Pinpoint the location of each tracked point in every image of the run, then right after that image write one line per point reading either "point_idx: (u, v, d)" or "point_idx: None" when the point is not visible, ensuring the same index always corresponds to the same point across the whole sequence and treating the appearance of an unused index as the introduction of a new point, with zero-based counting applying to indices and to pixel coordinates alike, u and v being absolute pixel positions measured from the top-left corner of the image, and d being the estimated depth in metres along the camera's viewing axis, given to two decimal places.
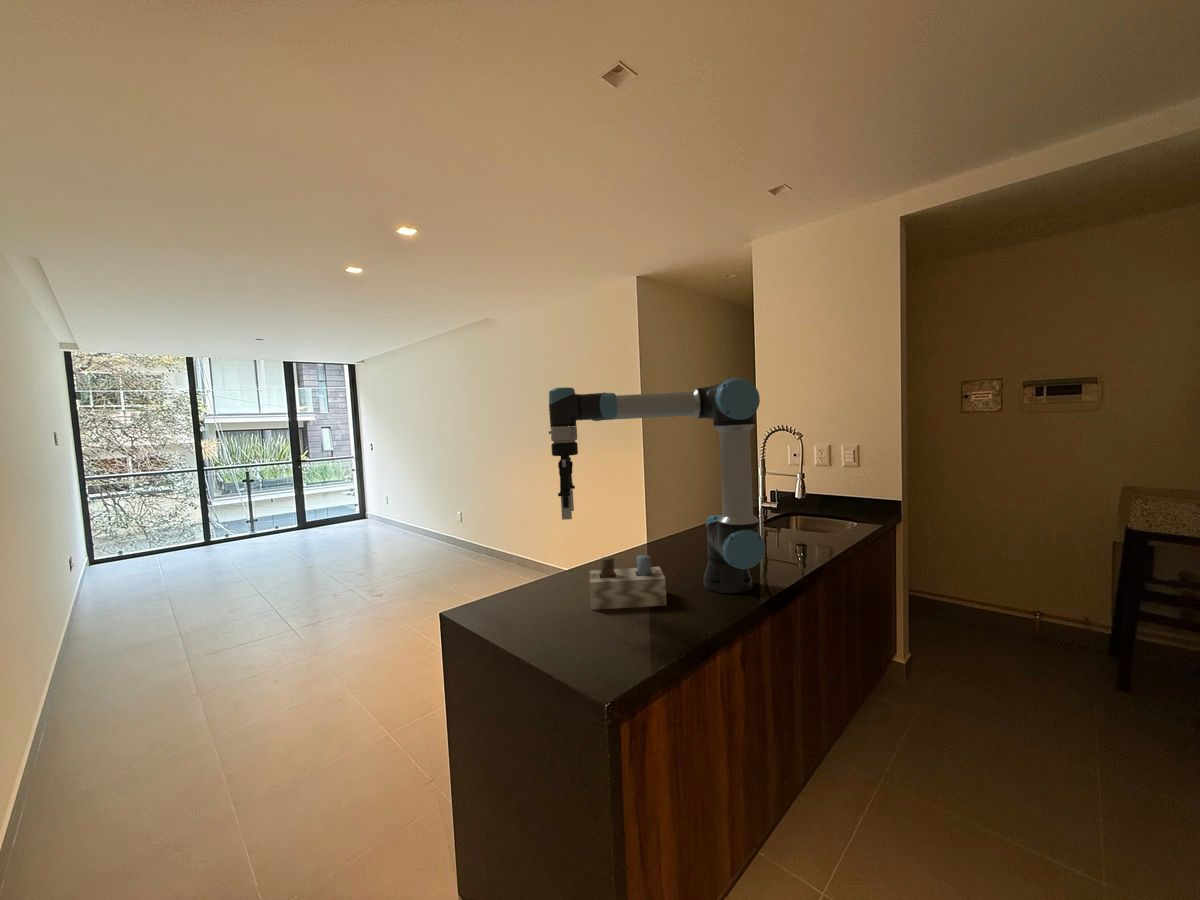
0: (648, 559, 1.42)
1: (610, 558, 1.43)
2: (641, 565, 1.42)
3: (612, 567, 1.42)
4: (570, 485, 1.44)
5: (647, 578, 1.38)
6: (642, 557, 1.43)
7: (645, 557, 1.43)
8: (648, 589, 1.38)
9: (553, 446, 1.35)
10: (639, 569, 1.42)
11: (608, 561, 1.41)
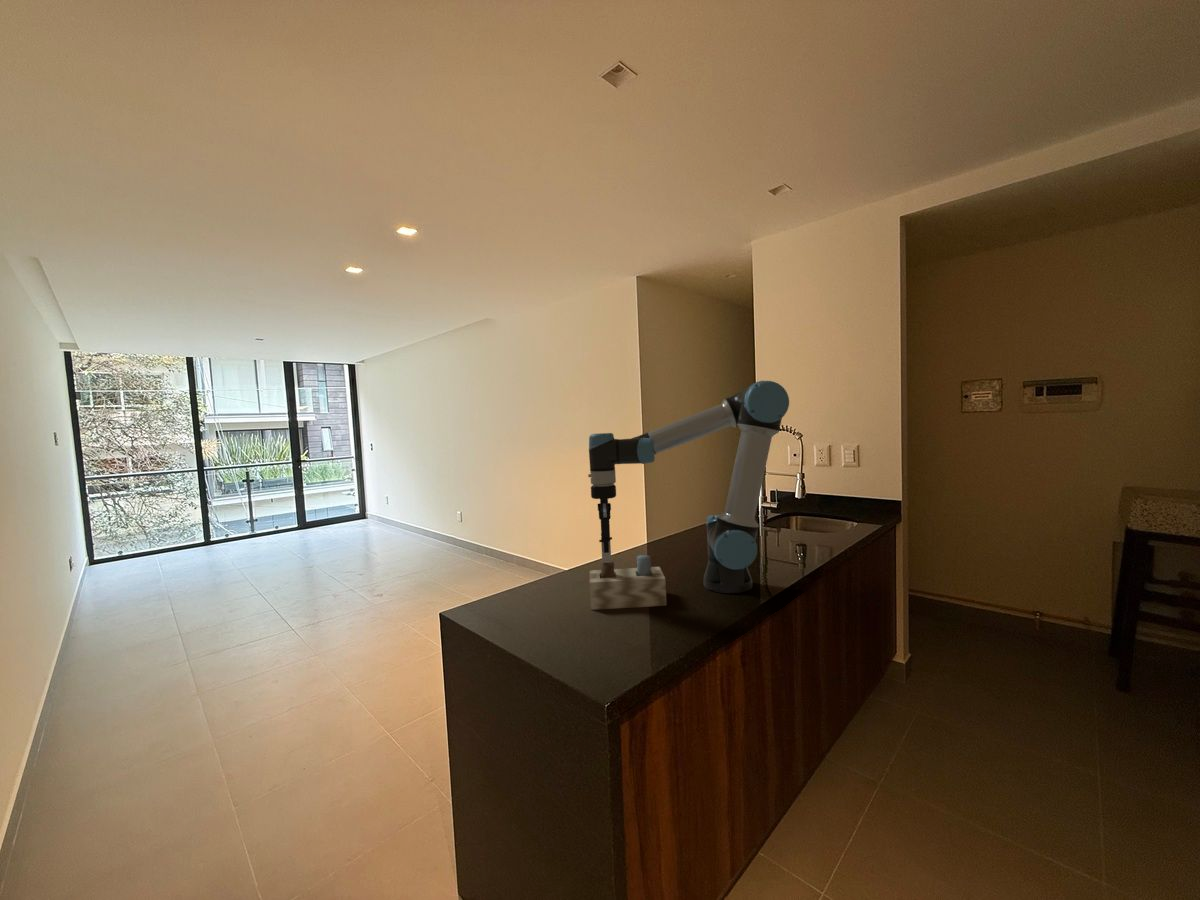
0: (648, 559, 1.42)
1: (610, 563, 1.43)
2: (641, 565, 1.42)
3: (612, 572, 1.42)
4: None
5: (647, 578, 1.38)
6: (642, 557, 1.43)
7: (645, 557, 1.43)
8: (648, 589, 1.38)
9: (593, 489, 1.40)
10: (639, 569, 1.42)
11: (608, 566, 1.42)
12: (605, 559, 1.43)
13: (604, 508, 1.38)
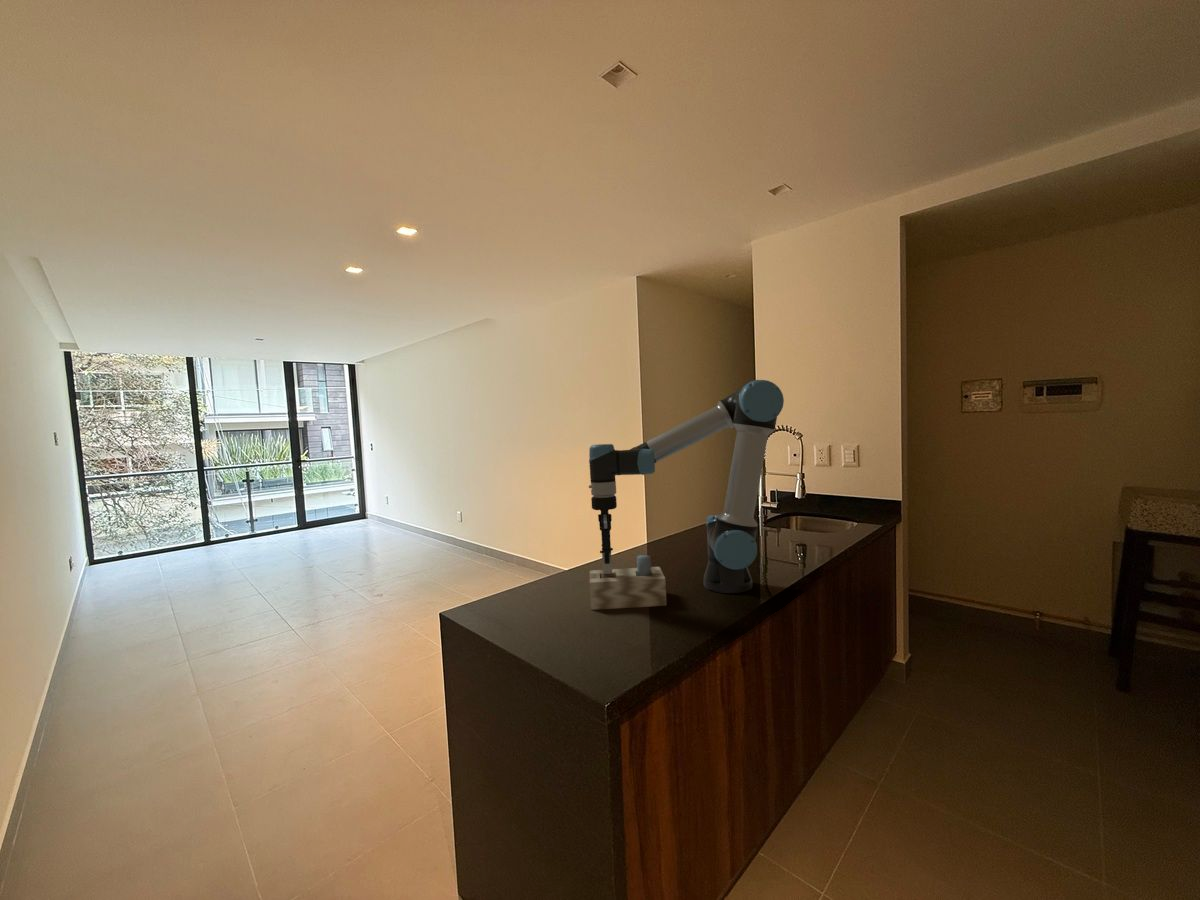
0: (648, 559, 1.42)
1: (611, 574, 1.43)
2: (641, 565, 1.42)
3: None
4: None
5: (647, 578, 1.38)
6: (642, 557, 1.43)
7: (645, 557, 1.43)
8: (648, 589, 1.38)
9: (593, 500, 1.40)
10: (639, 569, 1.42)
11: (609, 577, 1.42)
12: (606, 570, 1.43)
13: (605, 519, 1.38)
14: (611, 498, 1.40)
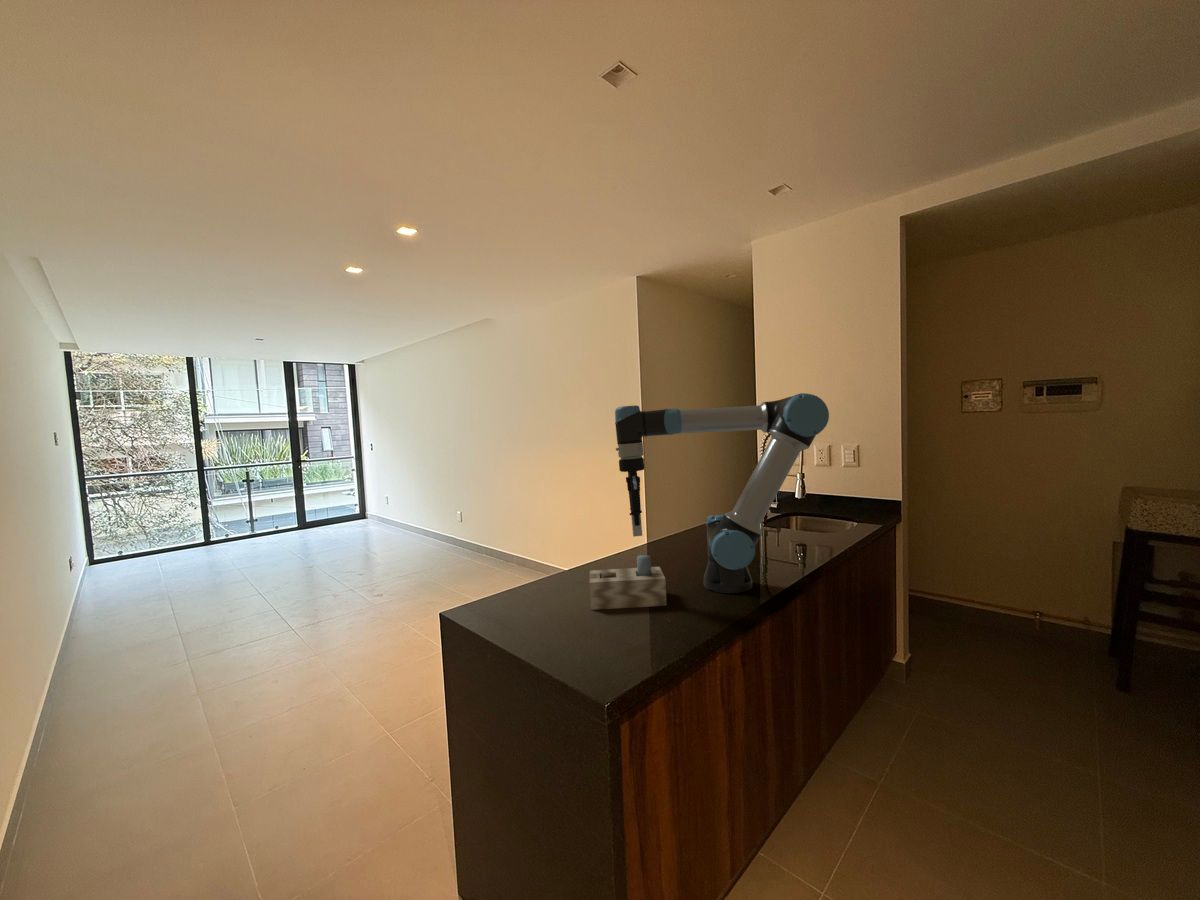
0: (648, 559, 1.42)
1: (611, 574, 1.43)
2: (641, 565, 1.42)
3: None
4: None
5: (647, 578, 1.38)
6: (642, 557, 1.43)
7: (645, 557, 1.43)
8: (648, 589, 1.38)
9: (621, 462, 1.40)
10: (639, 569, 1.42)
11: (609, 577, 1.42)
12: (636, 532, 1.42)
13: (634, 480, 1.38)
14: (639, 459, 1.39)
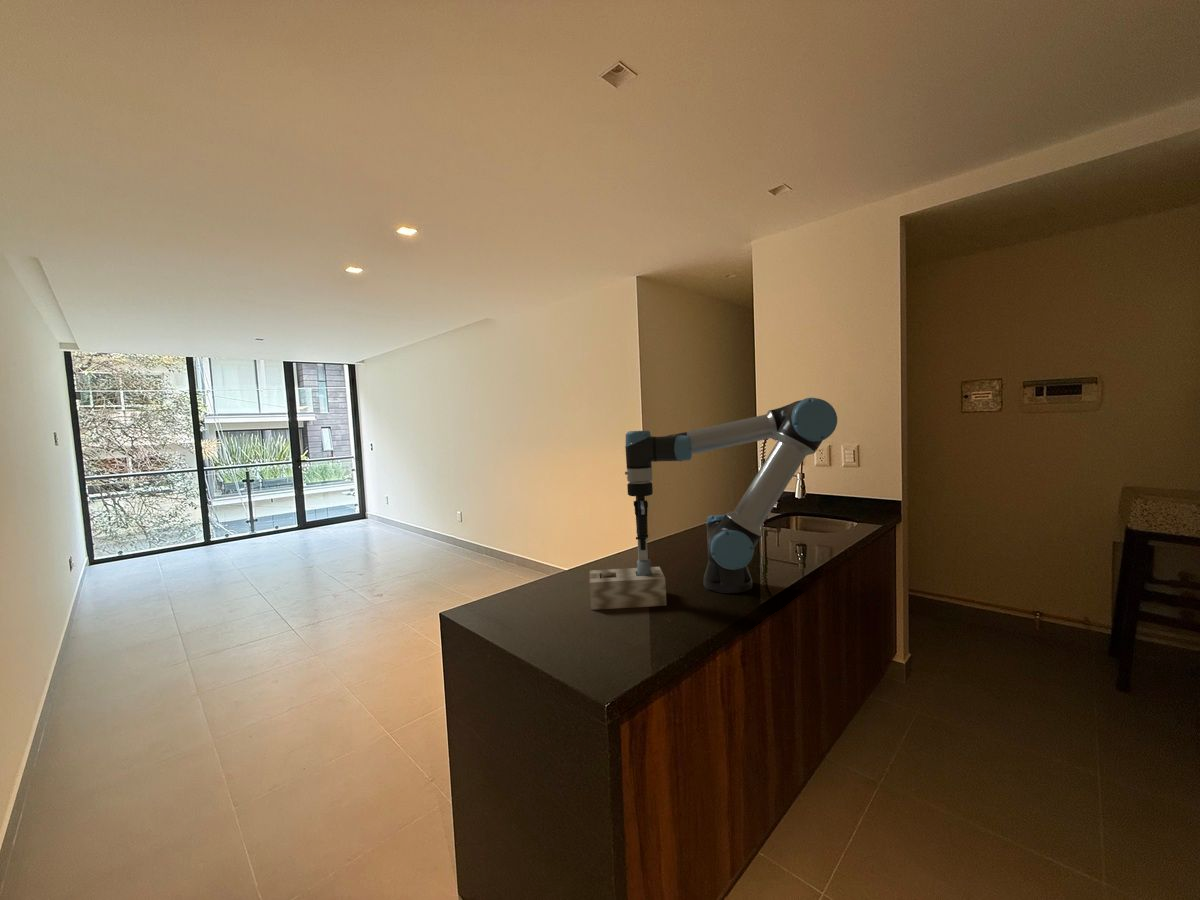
0: (648, 563, 1.42)
1: (611, 574, 1.43)
2: (641, 568, 1.42)
3: None
4: None
5: (647, 578, 1.38)
6: (642, 561, 1.43)
7: (645, 561, 1.43)
8: (648, 589, 1.38)
9: (630, 487, 1.40)
10: (639, 573, 1.42)
11: (609, 577, 1.42)
12: (642, 556, 1.43)
13: (642, 505, 1.38)
14: (648, 484, 1.40)
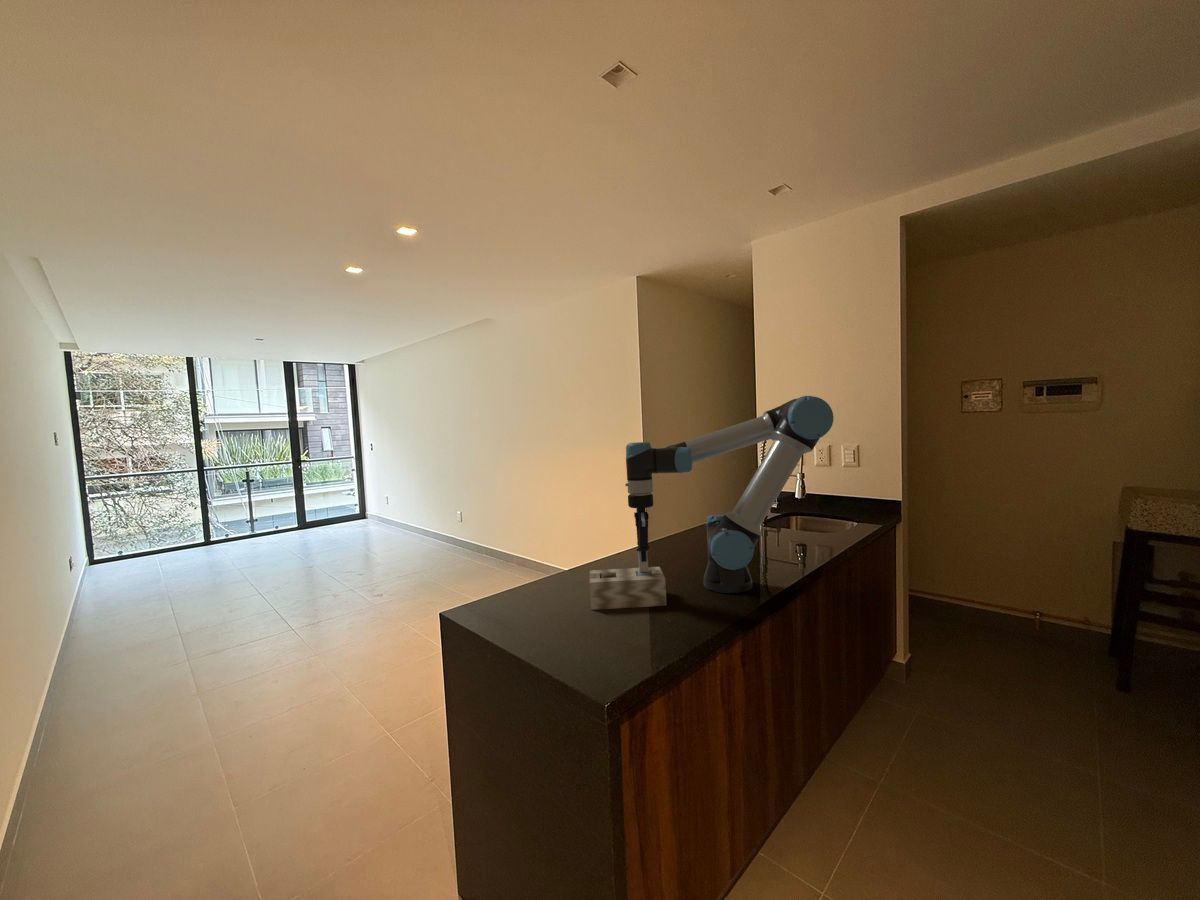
0: (649, 574, 1.42)
1: (611, 574, 1.43)
2: None
3: None
4: None
5: (647, 578, 1.38)
6: (643, 572, 1.43)
7: (646, 572, 1.43)
8: (648, 589, 1.38)
9: (631, 498, 1.41)
10: None
11: (609, 577, 1.42)
12: (642, 568, 1.43)
13: (642, 517, 1.38)
14: (648, 496, 1.40)
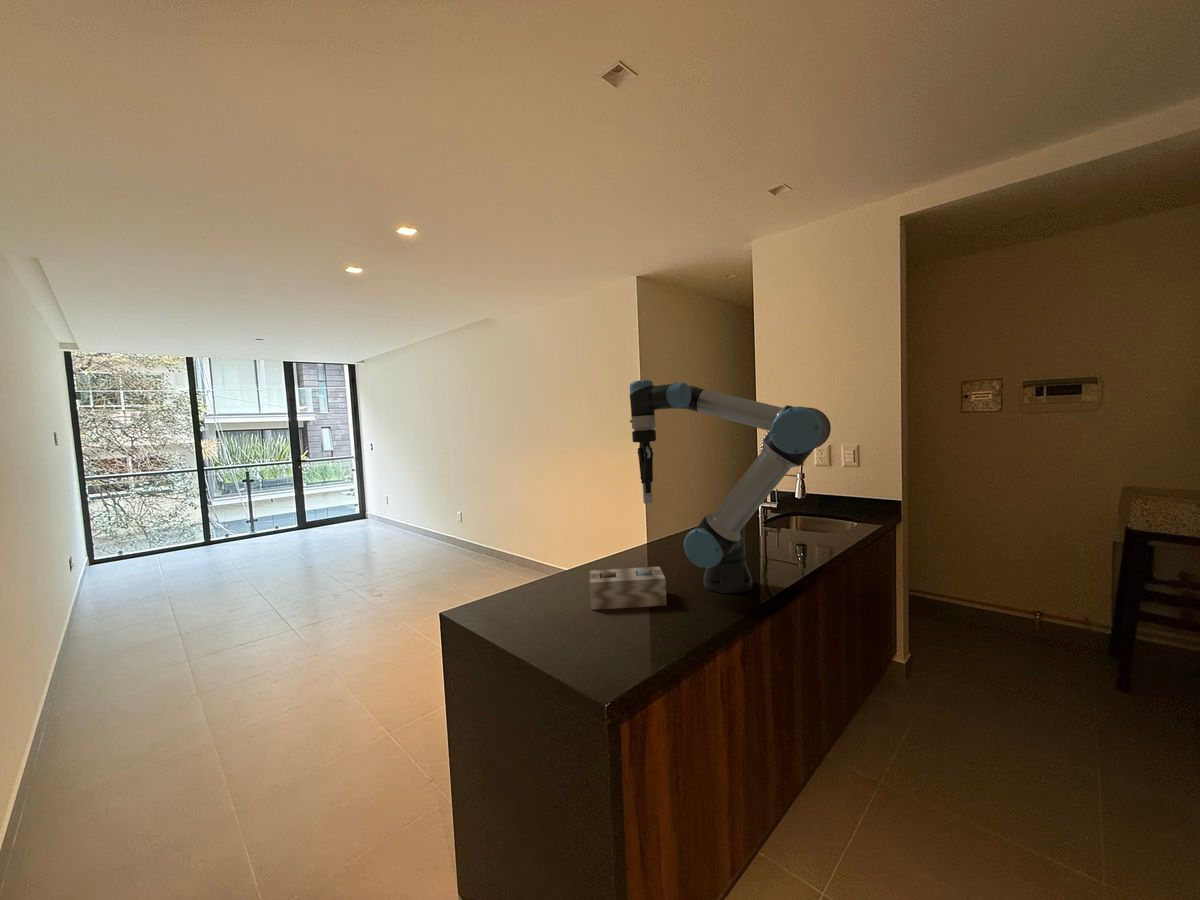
0: (649, 574, 1.42)
1: (611, 574, 1.43)
2: None
3: None
4: None
5: (647, 578, 1.38)
6: (643, 572, 1.43)
7: (646, 572, 1.43)
8: (648, 589, 1.38)
9: (635, 433, 1.49)
10: None
11: (609, 577, 1.42)
12: (647, 499, 1.52)
13: (647, 449, 1.47)
14: (652, 430, 1.49)
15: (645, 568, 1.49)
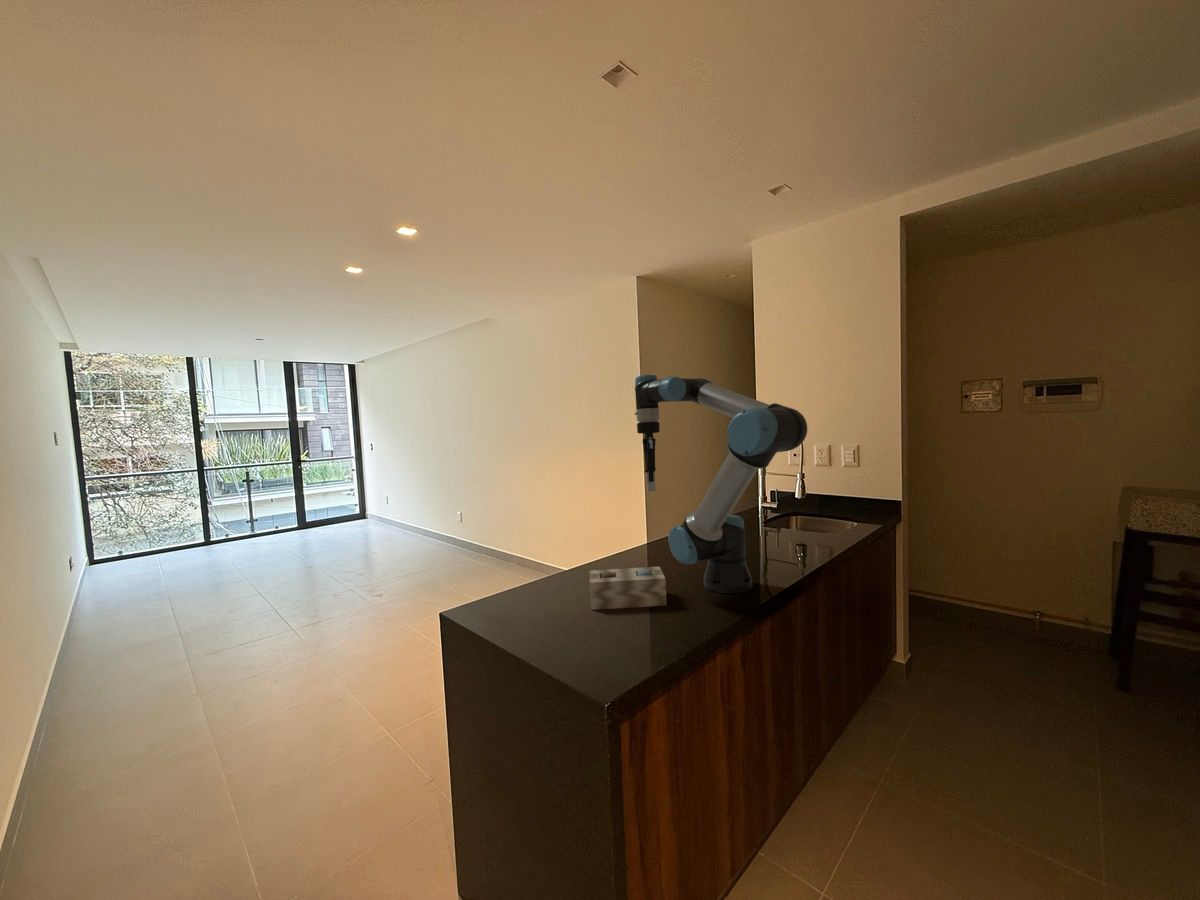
0: (649, 574, 1.42)
1: (611, 574, 1.43)
2: None
3: None
4: None
5: (647, 578, 1.38)
6: (643, 572, 1.43)
7: (646, 572, 1.43)
8: (648, 589, 1.38)
9: (639, 425, 1.58)
10: None
11: (609, 577, 1.42)
12: (650, 488, 1.61)
13: (650, 440, 1.56)
14: (655, 422, 1.58)
15: (645, 568, 1.49)
